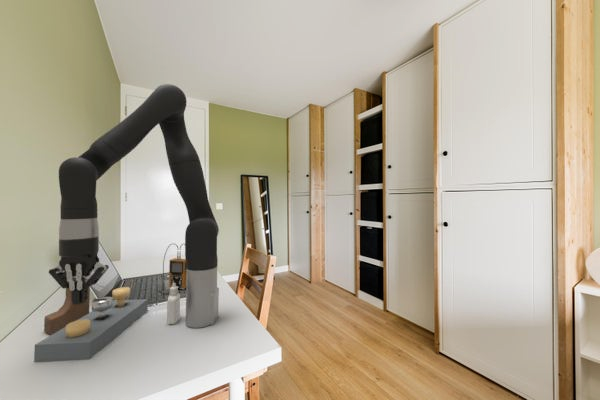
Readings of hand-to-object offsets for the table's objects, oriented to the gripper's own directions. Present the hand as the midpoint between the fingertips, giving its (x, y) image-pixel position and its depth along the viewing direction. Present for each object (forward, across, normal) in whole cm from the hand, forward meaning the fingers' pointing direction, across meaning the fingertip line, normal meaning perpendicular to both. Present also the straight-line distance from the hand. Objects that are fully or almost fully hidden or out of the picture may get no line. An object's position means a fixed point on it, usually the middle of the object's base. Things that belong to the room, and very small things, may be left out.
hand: (79, 303), depth 61 cm
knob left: (+11, +1, 0) cm, 11 cm away
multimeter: (+12, -7, -40) cm, 42 cm away
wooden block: (+12, +13, -13) cm, 22 cm away
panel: (+12, 0, -9) cm, 15 cm away
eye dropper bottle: (+12, -18, -14) cm, 25 cm away
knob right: (+9, 0, -17) cm, 19 cm away
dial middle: (+9, 0, -9) cm, 12 cm away
